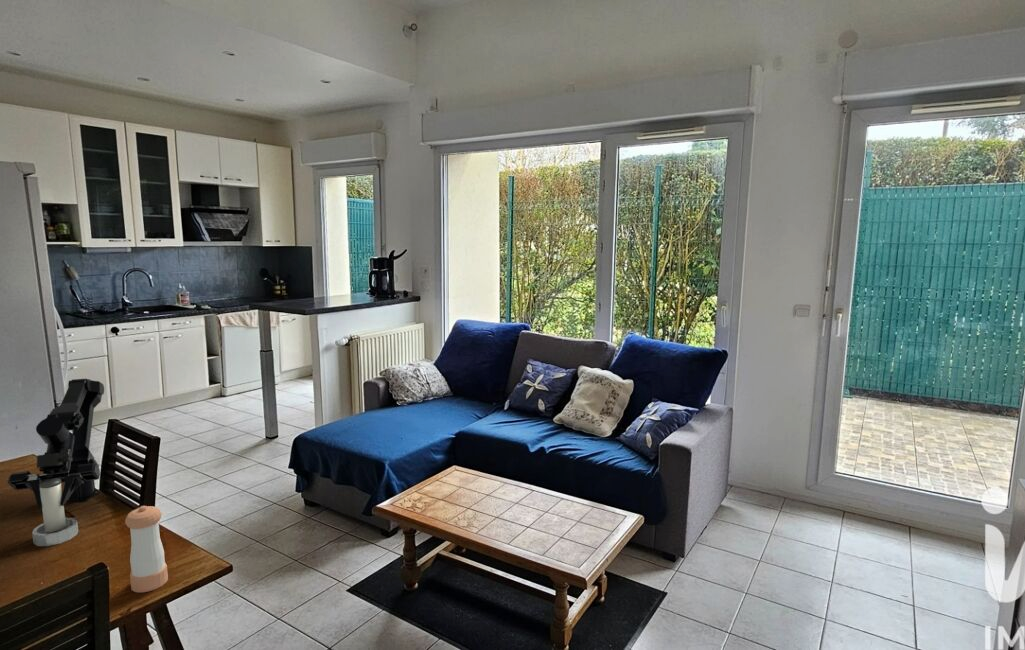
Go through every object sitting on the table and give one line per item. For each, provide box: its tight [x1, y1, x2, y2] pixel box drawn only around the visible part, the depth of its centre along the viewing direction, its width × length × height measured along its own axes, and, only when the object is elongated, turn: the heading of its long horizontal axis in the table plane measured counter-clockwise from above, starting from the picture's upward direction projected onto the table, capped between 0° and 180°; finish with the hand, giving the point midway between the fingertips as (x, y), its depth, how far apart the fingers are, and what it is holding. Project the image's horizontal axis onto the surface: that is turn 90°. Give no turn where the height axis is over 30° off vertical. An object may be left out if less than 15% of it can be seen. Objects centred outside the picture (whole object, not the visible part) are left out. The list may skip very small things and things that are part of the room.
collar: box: [31, 517, 79, 547], centre depth 150 cm, size 9×9×3 cm
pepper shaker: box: [124, 505, 169, 593], centre depth 130 cm, size 7×7×19 cm
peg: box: [39, 478, 66, 533], centre depth 149 cm, size 4×4×13 cm
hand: (50, 506), depth 147 cm, fingers closed on peg, 4 cm apart
